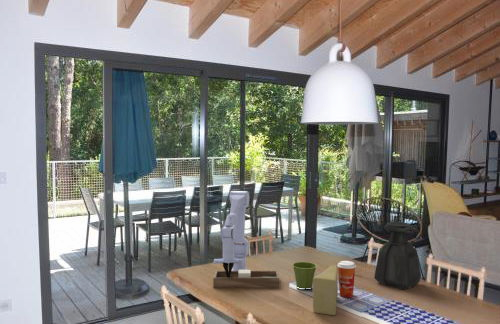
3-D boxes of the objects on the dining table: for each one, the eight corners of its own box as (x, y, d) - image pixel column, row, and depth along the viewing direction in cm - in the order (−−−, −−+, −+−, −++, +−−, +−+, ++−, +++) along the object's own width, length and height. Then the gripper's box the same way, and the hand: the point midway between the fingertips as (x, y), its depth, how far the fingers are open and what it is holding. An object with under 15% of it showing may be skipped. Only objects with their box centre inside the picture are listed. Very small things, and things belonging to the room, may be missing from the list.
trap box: (215, 279, 218) (215, 270, 218) (277, 279, 218) (277, 270, 218) (213, 287, 206) (213, 278, 206) (279, 287, 206) (279, 278, 206)
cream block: (238, 277, 215) (238, 269, 215) (250, 277, 215) (250, 269, 215) (238, 281, 209) (238, 273, 209) (250, 281, 209) (250, 273, 209)
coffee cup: (334, 296, 193) (335, 264, 193) (340, 291, 201) (340, 259, 200) (353, 299, 189) (353, 266, 189) (357, 294, 197) (358, 261, 196)
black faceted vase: (372, 283, 212) (373, 223, 210) (388, 276, 223) (389, 219, 222) (407, 292, 199) (408, 228, 198) (422, 284, 211) (423, 223, 209)
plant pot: (316, 293, 198) (316, 269, 198) (290, 291, 200) (290, 267, 200) (317, 284, 210) (317, 262, 209) (293, 283, 212) (293, 260, 212)
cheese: (324, 295, 196) (324, 262, 195) (346, 298, 192) (346, 265, 191) (311, 312, 175) (312, 276, 175) (335, 316, 172) (335, 279, 171)
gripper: (213, 252, 207) (213, 280, 208) (242, 252, 207) (242, 280, 208) (214, 249, 214) (214, 275, 215) (243, 249, 214) (243, 275, 215)
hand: (228, 277), depth 212 cm, fingers closed
